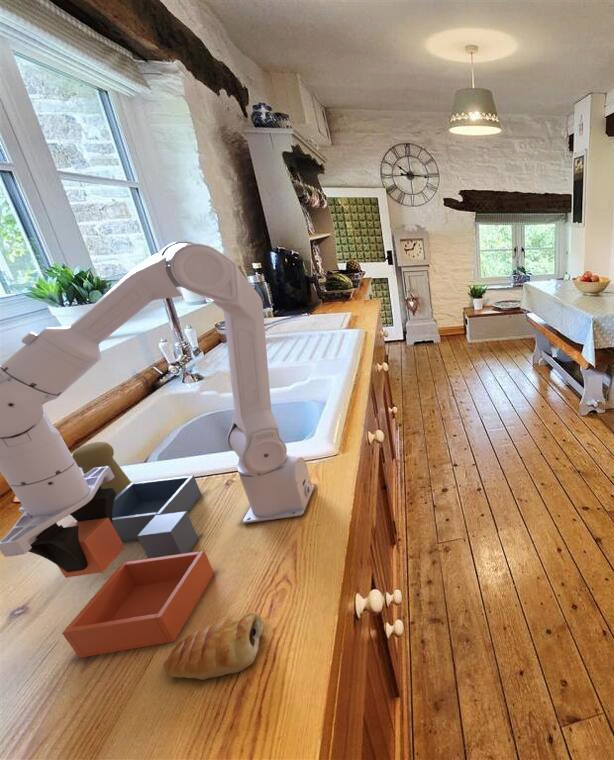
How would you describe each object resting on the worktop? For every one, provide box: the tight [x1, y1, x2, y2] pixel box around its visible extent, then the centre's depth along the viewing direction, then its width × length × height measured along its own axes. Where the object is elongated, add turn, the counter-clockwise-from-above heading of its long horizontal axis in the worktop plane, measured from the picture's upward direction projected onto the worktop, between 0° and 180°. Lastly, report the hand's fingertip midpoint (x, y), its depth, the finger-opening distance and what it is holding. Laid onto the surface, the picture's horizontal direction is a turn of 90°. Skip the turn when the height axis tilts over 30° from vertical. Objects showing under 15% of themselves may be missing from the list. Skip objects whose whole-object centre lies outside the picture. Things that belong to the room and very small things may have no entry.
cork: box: [71, 441, 132, 496], centre depth 74 cm, size 6×6×11 cm
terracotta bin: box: [61, 550, 215, 659], centre depth 53 cm, size 10×10×4 cm
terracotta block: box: [56, 518, 125, 579], centre depth 55 cm, size 4×4×6 cm
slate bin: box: [112, 475, 203, 543], centre depth 69 cm, size 10×10×4 cm
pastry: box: [162, 610, 265, 681], centre depth 47 cm, size 9×7×4 cm
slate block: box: [137, 511, 199, 559], centre depth 62 cm, size 4×4×6 cm
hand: (92, 554), depth 55 cm, fingers closed on terracotta block, 4 cm apart
